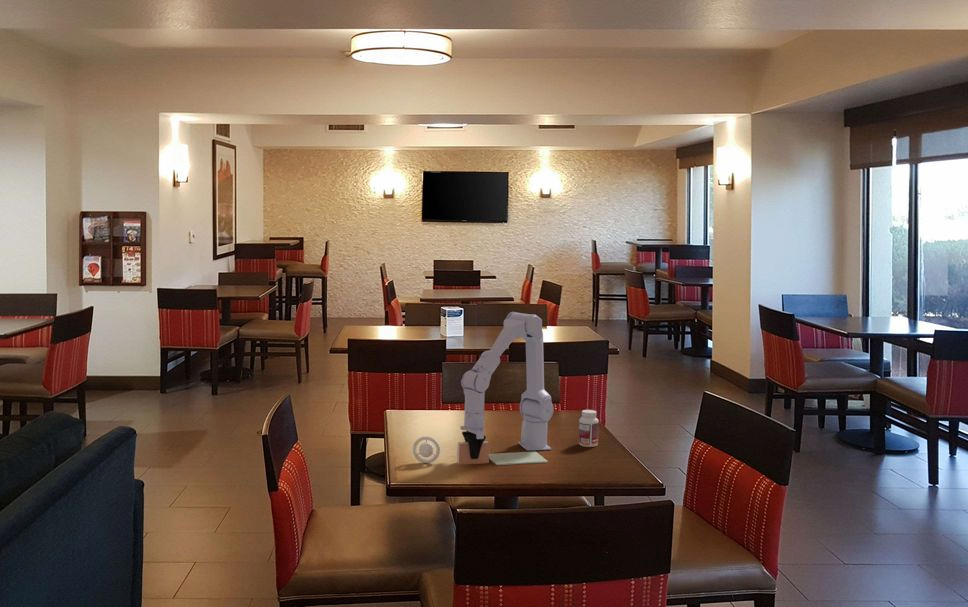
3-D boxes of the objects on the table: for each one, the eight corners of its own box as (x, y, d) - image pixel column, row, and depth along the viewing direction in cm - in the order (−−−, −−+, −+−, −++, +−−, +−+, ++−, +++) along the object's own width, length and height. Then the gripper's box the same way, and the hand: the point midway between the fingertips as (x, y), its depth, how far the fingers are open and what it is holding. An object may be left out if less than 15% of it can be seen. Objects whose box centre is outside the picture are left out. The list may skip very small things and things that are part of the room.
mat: (485, 455, 273) (485, 453, 273) (535, 452, 277) (535, 451, 277) (496, 465, 262) (496, 463, 262) (547, 462, 267) (547, 461, 267)
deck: (457, 462, 264) (457, 442, 263) (486, 460, 267) (487, 441, 266) (459, 464, 262) (459, 444, 261) (488, 463, 264) (489, 443, 264)
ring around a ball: (440, 462, 264) (441, 435, 263) (438, 467, 258) (438, 440, 257) (413, 460, 264) (413, 434, 263) (410, 466, 259) (411, 439, 258)
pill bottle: (594, 442, 292) (595, 409, 291) (600, 447, 286) (601, 413, 285) (576, 442, 291) (577, 409, 290) (581, 447, 285) (582, 413, 284)
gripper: (454, 406, 268) (453, 451, 270) (467, 417, 255) (466, 464, 256) (477, 406, 270) (476, 450, 272) (491, 416, 257) (490, 463, 258)
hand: (473, 457), depth 264 cm, fingers closed on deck, 2 cm apart
